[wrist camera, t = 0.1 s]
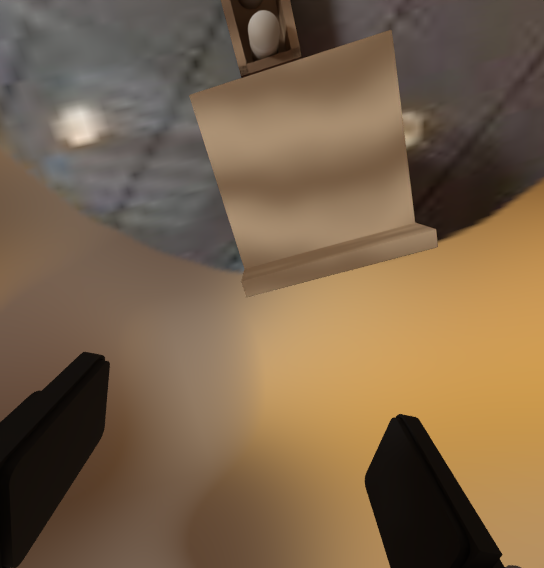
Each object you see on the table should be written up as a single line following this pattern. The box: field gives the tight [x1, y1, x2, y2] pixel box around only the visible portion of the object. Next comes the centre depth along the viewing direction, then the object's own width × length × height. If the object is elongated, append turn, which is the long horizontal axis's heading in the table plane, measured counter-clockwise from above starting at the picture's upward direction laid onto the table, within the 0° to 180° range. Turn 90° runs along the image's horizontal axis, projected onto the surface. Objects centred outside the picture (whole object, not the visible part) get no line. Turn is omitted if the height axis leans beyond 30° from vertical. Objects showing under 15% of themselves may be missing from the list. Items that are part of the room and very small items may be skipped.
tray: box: [221, 0, 302, 78], centre depth 29 cm, size 10×6×6 cm, turn 16°
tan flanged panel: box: [189, 30, 438, 297], centre depth 28 cm, size 13×13×20 cm
